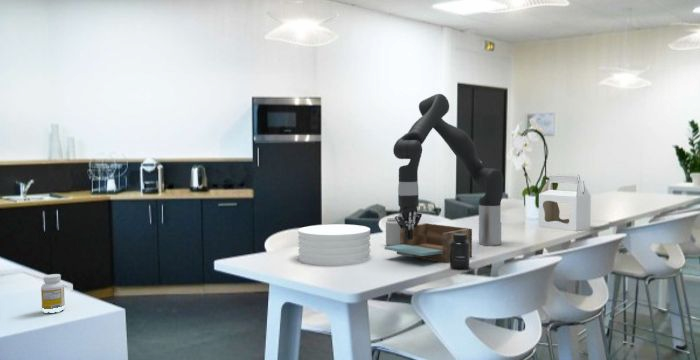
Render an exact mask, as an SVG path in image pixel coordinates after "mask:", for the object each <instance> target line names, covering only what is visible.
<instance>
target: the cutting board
mask: <svg viewBox="0 0 700 360" xmlns="http://www.w3.org/2000/svg"><path fill="white" fill-rule="evenodd" d="M384 250H385V251H386V250H388V251H393V252H396V255H400V256H405V257H409V258H410V257H411V258H416V257H415V255H419V256H426V255H434V254H441V253H442V251H441V250H435V249H429V248H423V247H416V246H410V245H395V246H388V245H386V246H384Z"/></svg>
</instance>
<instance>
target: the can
mask: <svg viewBox="0 0 700 360" xmlns="http://www.w3.org/2000/svg"><path fill="white" fill-rule="evenodd" d="M385 244H386V246H395V245H400V226H399V224H398V223H397V221H396V219H395V217H388V218H387V219H386V221H385Z"/></svg>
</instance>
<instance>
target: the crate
mask: <svg viewBox="0 0 700 360" xmlns="http://www.w3.org/2000/svg"><path fill="white" fill-rule="evenodd" d="M457 233H460V234H467V240H466V241H467V242H468V243H469V244H470V257H469V258H472V256H473V228H469V227H459V226H452V225H442V224H436V223H426V222H425V223H418V225H417V227H416V228H414V229H413V238H412V240H406V239H405V230H404V229H401V228H400V245H410V246H416V247H423V248H429V249H435V250H441V251H442V253H441V254H434V255H426V256H419V255H415V257H414V258H418V259H421V260H423V259H424V260H429V261H433V262H440V263H445V264H447V263H450V244H451V242H452V241H454V239H453V234H457Z"/></svg>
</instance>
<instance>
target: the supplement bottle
mask: <svg viewBox="0 0 700 360" xmlns="http://www.w3.org/2000/svg"><path fill="white" fill-rule="evenodd" d="M453 239H454V241H452V242H451V244H450V262H449V267H450V268H451V269H454V270H468V269H469V268H470V258H471V257H470V244H469V243H468V242H467V241H466V240H467V234H460V233H457V234H453Z"/></svg>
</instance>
